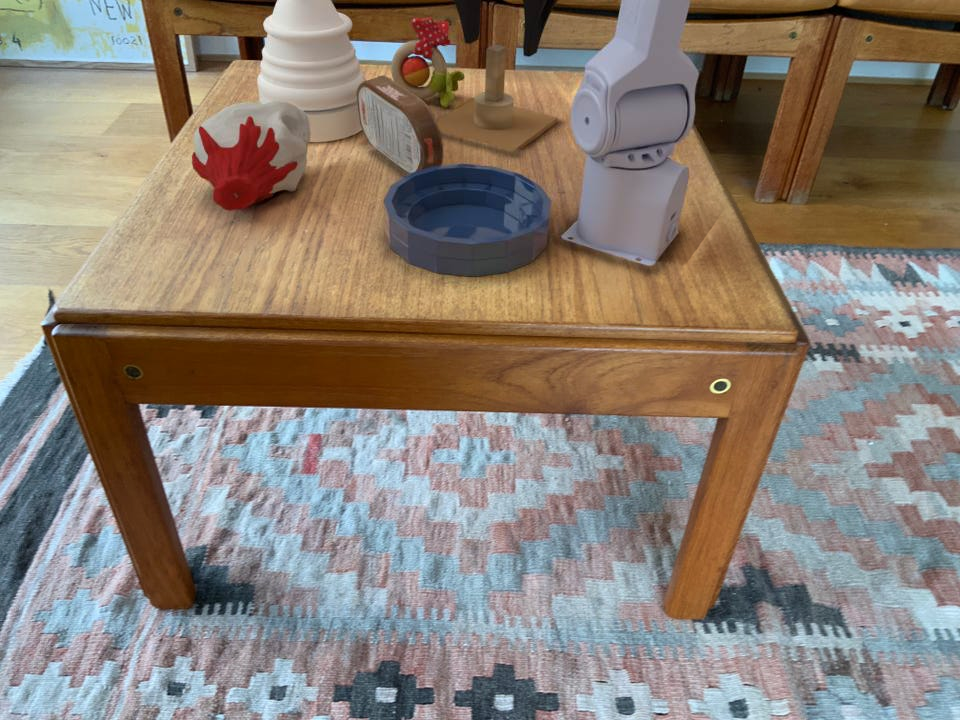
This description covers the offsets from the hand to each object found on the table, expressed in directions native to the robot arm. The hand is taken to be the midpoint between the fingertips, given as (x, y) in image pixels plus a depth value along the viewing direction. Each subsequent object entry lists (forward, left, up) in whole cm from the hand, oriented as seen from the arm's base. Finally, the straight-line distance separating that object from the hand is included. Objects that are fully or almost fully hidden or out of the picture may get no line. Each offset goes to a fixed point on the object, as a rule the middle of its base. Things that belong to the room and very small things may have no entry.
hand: (500, 47), depth 89 cm
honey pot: (+20, +9, -11) cm, 25 cm away
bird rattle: (+12, -4, -11) cm, 17 cm away
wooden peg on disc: (+1, -2, -10) cm, 10 cm away
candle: (+13, +28, -11) cm, 33 cm away
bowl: (-10, +23, -10) cm, 27 cm away
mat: (+1, -2, -10) cm, 11 cm away
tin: (+5, +13, -11) cm, 18 cm away
